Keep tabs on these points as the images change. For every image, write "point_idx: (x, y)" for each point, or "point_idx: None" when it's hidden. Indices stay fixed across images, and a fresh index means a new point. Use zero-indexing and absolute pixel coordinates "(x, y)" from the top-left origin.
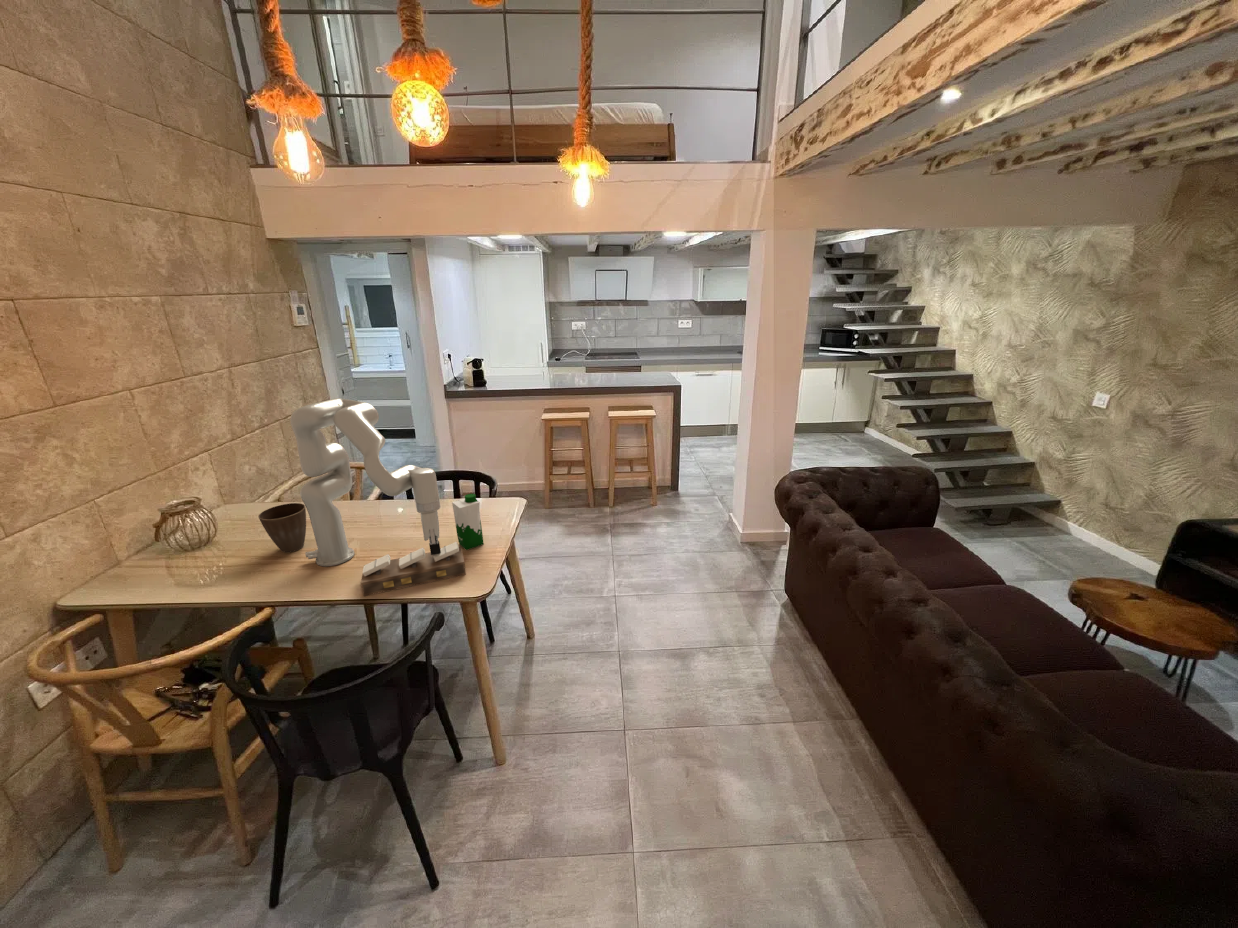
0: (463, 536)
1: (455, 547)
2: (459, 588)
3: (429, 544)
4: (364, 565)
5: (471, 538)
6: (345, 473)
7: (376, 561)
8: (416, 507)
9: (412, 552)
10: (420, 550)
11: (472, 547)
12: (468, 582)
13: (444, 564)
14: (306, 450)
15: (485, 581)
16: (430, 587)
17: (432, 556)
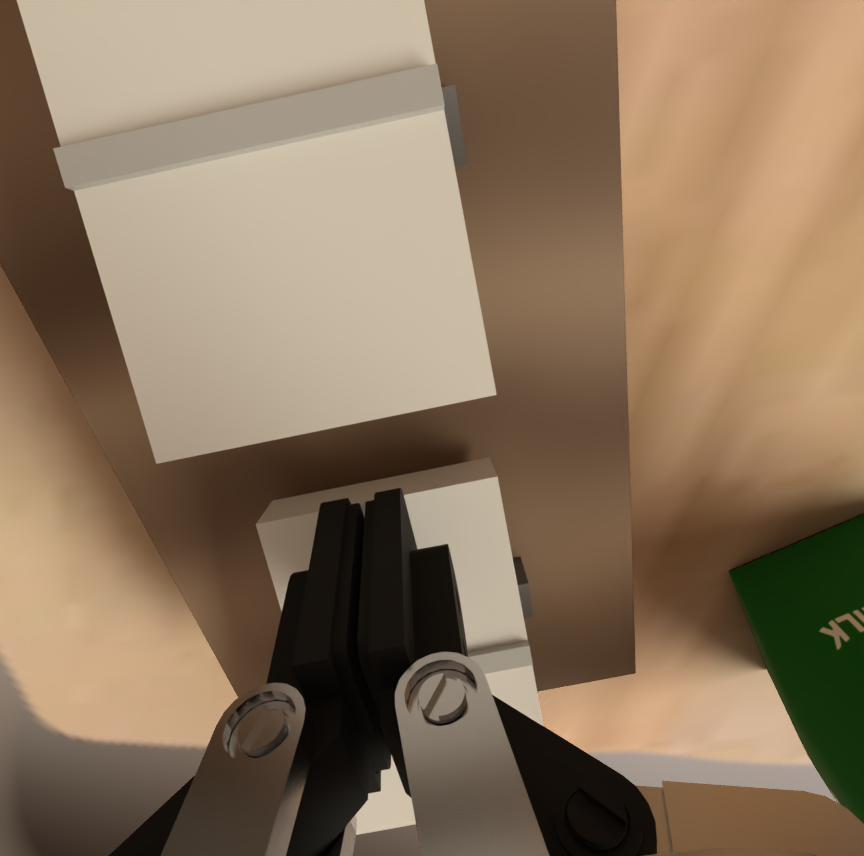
0: (844, 685)
1: (383, 806)
2: (55, 608)
3: (315, 662)
4: None
5: (790, 711)
6: None
7: None
8: None
9: (444, 125)
10: (386, 352)
11: (746, 615)
12: (154, 651)
13: (216, 591)
14: None
15: (166, 740)
16: (54, 370)
17: (475, 417)
